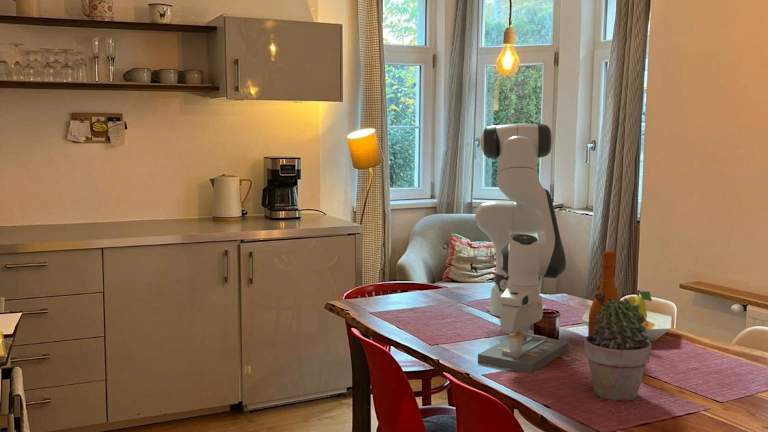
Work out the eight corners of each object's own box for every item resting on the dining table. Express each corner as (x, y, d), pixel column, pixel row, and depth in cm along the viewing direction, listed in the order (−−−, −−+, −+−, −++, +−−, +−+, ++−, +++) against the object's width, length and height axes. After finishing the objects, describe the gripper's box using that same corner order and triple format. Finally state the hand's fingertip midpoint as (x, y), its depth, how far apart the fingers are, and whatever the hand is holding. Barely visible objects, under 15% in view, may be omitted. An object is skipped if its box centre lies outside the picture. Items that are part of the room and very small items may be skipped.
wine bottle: (623, 351, 223) (628, 248, 219) (622, 361, 214) (627, 254, 210) (588, 347, 226) (592, 246, 222) (586, 357, 217) (590, 252, 213)
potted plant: (651, 414, 175) (657, 307, 172) (568, 398, 185) (571, 296, 182) (669, 391, 190) (674, 292, 187) (590, 377, 200) (594, 283, 197)
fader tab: (513, 350, 215) (513, 332, 214) (522, 351, 213) (523, 333, 212) (508, 353, 212) (508, 334, 211) (517, 355, 210) (517, 336, 210)
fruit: (693, 337, 238) (695, 291, 236) (645, 352, 222) (647, 303, 220) (610, 317, 261) (611, 275, 259) (561, 330, 245) (562, 286, 243)
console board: (518, 340, 233) (519, 328, 233) (569, 349, 224) (569, 337, 223) (477, 362, 212) (478, 349, 212) (531, 373, 203) (531, 360, 202)
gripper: (528, 285, 224) (527, 332, 226) (496, 298, 207) (495, 348, 209) (549, 288, 220) (547, 335, 222) (518, 302, 204) (516, 352, 205)
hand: (522, 342), depth 215 cm, fingers closed
